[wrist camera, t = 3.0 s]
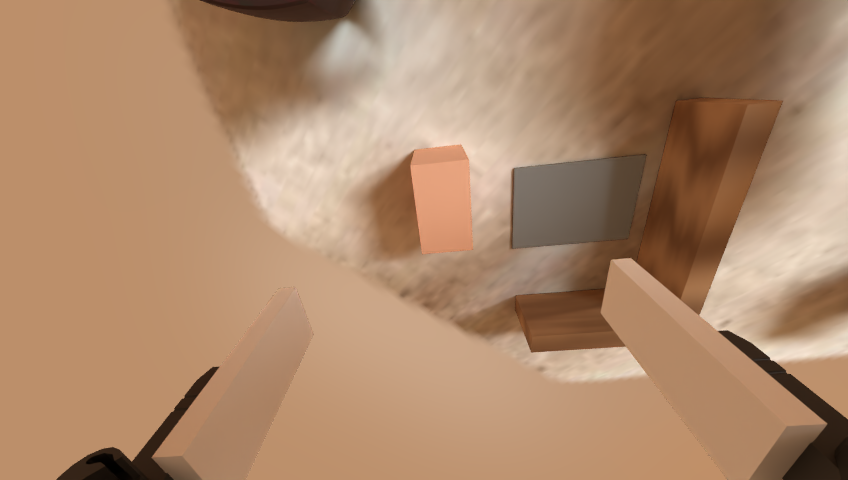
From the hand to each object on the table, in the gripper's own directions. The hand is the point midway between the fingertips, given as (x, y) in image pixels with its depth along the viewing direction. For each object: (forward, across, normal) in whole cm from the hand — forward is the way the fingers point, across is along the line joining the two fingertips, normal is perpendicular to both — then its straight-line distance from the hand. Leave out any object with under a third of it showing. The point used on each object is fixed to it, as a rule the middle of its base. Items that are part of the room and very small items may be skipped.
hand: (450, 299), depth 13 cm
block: (+16, 0, 0) cm, 16 cm away
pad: (+16, +12, -3) cm, 20 cm away
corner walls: (+16, +14, -5) cm, 22 cm away
